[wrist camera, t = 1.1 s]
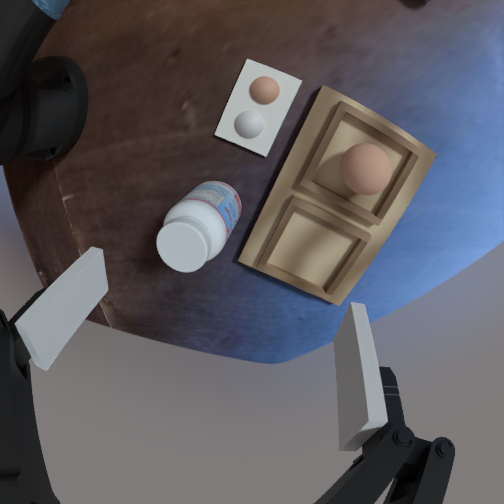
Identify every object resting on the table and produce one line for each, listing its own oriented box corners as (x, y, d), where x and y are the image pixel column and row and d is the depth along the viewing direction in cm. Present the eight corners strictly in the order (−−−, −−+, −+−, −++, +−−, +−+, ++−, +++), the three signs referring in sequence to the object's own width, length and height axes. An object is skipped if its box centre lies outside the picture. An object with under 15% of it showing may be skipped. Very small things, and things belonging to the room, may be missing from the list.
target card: (215, 134, 30) (214, 134, 29) (247, 59, 26) (246, 58, 25) (266, 156, 30) (266, 157, 30) (302, 81, 26) (302, 80, 25)
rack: (239, 256, 36) (236, 265, 35) (322, 85, 26) (324, 84, 24) (338, 300, 37) (339, 310, 35) (432, 152, 27) (440, 156, 25)
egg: (329, 173, 29) (334, 186, 25) (351, 131, 26) (360, 136, 22) (369, 195, 29) (381, 211, 25) (392, 155, 27) (408, 165, 22)
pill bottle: (234, 234, 35) (208, 289, 25) (187, 219, 35) (145, 266, 25) (248, 187, 32) (224, 228, 22) (197, 172, 32) (152, 205, 22)
